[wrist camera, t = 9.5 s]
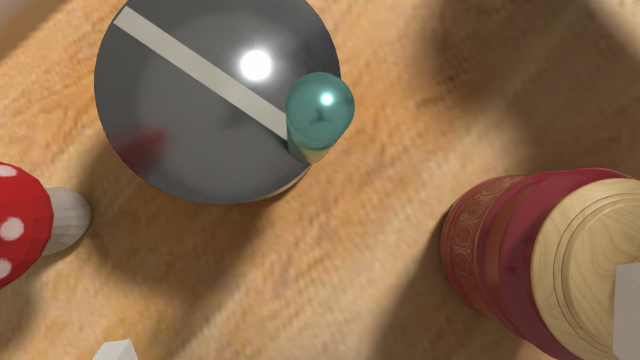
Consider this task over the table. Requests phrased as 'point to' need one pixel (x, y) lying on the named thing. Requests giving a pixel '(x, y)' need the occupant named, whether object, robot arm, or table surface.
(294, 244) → the table surface
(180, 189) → the crank wheel
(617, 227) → the canister
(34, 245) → the decorative mushroom
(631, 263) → the robot arm
